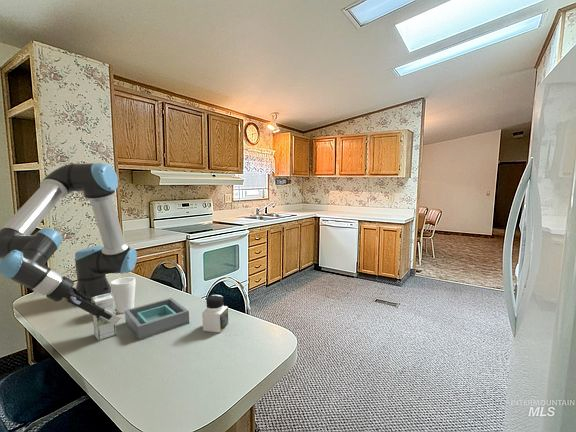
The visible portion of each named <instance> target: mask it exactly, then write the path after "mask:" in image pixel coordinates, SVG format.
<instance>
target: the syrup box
mask: <svg viewBox="0 0 576 432" xmlns="http://www.w3.org/2000/svg"><path fill="white" fill-rule="evenodd" d="M91 302H92V303H94V304H95V305H97V306H99V307H100V308H102V309H106V310H108V311H109V312H111V313H113V314H115V315H116V313H114V311H115V301H114V297H113V295H111V293H107V294H103V295H99V296H95V297H91ZM92 324H93V333H94V337H96V339H97V341H102V340H105V339H107V338H111V337H115V336H117V330H116V329H117V328H116V327H117V326H116V325H115V324H113V323H111V322H109V321H107V320H105V319H103V318H101V317H99V318H98V319H97V318H96V316H94V315H92Z"/></svg>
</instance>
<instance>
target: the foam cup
mask: <svg viewBox="0 0 576 432" xmlns="http://www.w3.org/2000/svg"><path fill="white" fill-rule="evenodd" d="M136 281H137V280H136V277H134V276H133V277H132V276H127V277H119V278H115V279H113V280H111V281H110V282H109V284H110V286H111V292H112V297H113V300H114V306H115V310H116V313H118V314H125V310H128V309H132V308H135V297H136V296H135V295H136V294H135V293H136V284H137V283H136Z"/></svg>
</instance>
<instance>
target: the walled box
mask: <svg viewBox="0 0 576 432" xmlns="http://www.w3.org/2000/svg"><path fill="white" fill-rule="evenodd" d="M124 315H125V323H126V325H127V326H128V328H129V329H130V330H131V332H132V333H133V334H134V335H135V337H136V336H137V337H136V338H137V340H139V341H141V339H142V340H145V339H148V338H150V337H154V336H156V335H160V334H162V333H165V332H169V331H171V330H173V329H177V328H179V327H183V326H186V325H189V324H190V312H189V310H188V309H186V308H185V306H183V305H181V304H180V303H179V302H178V301H176V300H175V299H174V298H172V297H168V298H166V299H161V300H158V301H155V302H154V301H153V302H151V303H147V304H143V305H140V306H139V305H138V306H134V308H132V309H128V310H125V313H124ZM153 335H154V336H153ZM144 338H145V339H144Z"/></svg>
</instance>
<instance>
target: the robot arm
mask: <svg viewBox="0 0 576 432" xmlns="http://www.w3.org/2000/svg"><path fill="white" fill-rule="evenodd" d="M118 178H119V177H118V175H117V172H116V171H115V169H114V168H113V167H112V166H110V165H109V164H107V163H98V162H95V163H94V162H93V163H90V162H89V163H68V164H65V165H62V166H59V167H58V168H56V169H54V170H53V171H51V172H50V173H49V174H47V175H46V176H45V177H44V178H43V179H42V180H41V181H40V182H39V188H38V189H36V191H35V192H34V193H33V194H32V196H30V198H29V199H27V201H26V202H25V203H24V204H23V205H22V206H21V207H20V208H19V209H18V210H17V211H16V212H15V214H14V215H12V217H11V218H10V219H8V221H7V222H5V224H4V225H3V227H1V228H0V275H2V276H3V277H5V278H7V280H11V281H13V282H15V283H18V284H19V285H21V286H24V287H26V288H28V289H30V290H31V291H33V292H32V293H33V294H37V293H38V294H40V295H42V296H46V298H48V299H50V300H51V301H54V302H59V301H62V299H65V300H66V301H67V302H68V303H69V304H71V305H72V306H75V307H77V308H79V309H81V310H83V311H85V312H86V313H89V314H91V315H92V316H93V315H94V316H96V318H97V319H98V318H99V317H101V318H103V319H105V320H107V321H109V322H111V323H113V324H115V326H116V325H117V323H119V321H120V320H121V319H122V318H121V317H120V316H118V315H117V310H114V313H115V314H113V313H111V312H109V311H108V310H106V309H102V308H100V307H99V306H97V305H95V304H94V303H92V302H91V297H95V296H99V295H103V294H107V293H109V294H111V292H112V289H111V284H110V282H109V280H108V278H107V276H106V274H121V275H122V274H125V273H126V274H129V273H132V271H134V269H135V266H136V264H137V259H138V253H137V250H136V249H135V248H131V247H130V244H129V242H126V241H125V238H124V235H123V231H122V228H121V224H120V221H119V217H118V213H117V209H116V204H115V201H114V198H113V195H115V193H116V190H117V189H118V186H119V179H118ZM72 192H73V193H75V192H82V193H83V194H82V195H83V196H84V198H85V199H87V200H89V201H90V205H91V209H92V211H93V214H94V218H95V221H96V225H97V228H98V231H99V234H100V237H101V241H102V244H103V245H98V246H97V245H95V246H91V247H87V248H82V249H79V250H78V251H76V252H75V255H74V262H75V270H76V278H77V282H76V286H75V287H74V284H75V282H74V281H73V280H72V279H70V278H69V277H66V276H63V274H61V273H60V272H58V271H56V270H54V269H52V268H51V267H49V266H47V265H46V263H47V262H48V261H49V259H50V258H51V257H52V256H53V255H54V253H55V252H56V251H57V250H58V249H59V247H60V245H61V243H62V242H63V236H62V235H61V234H60V232H58V231H57V230H55V229H53V228H50V227H43V228H41V229H39V230H38V231H36V232H35V234H32V233H33V232H34V231H35V230H36V228H37V227H38V226H39V225H40V224H41V223H42V222H43V220H44V219H45V217H47V215H48V214H49V213H50V212H51V210H52V209H53V208H54V206H56V204H57V203H58V202H59V201H60V199H63V198H64V199H65V197H67V195H68V194H70V193H72Z"/></svg>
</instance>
